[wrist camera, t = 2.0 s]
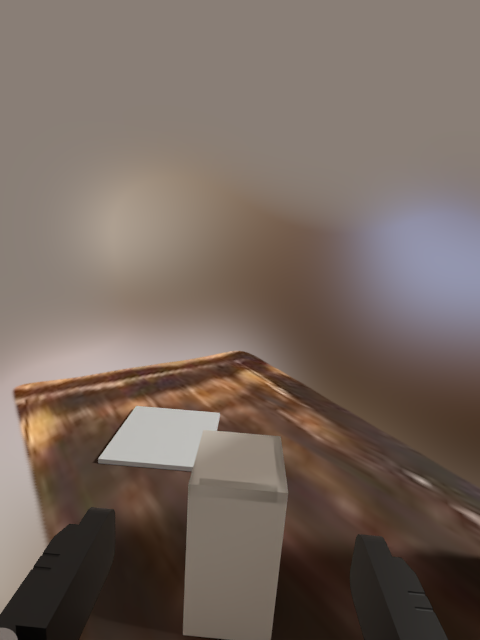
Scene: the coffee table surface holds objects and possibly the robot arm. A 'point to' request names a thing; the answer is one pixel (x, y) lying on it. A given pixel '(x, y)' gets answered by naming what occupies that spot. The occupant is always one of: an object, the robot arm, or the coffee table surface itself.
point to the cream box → (234, 536)
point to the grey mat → (159, 438)
